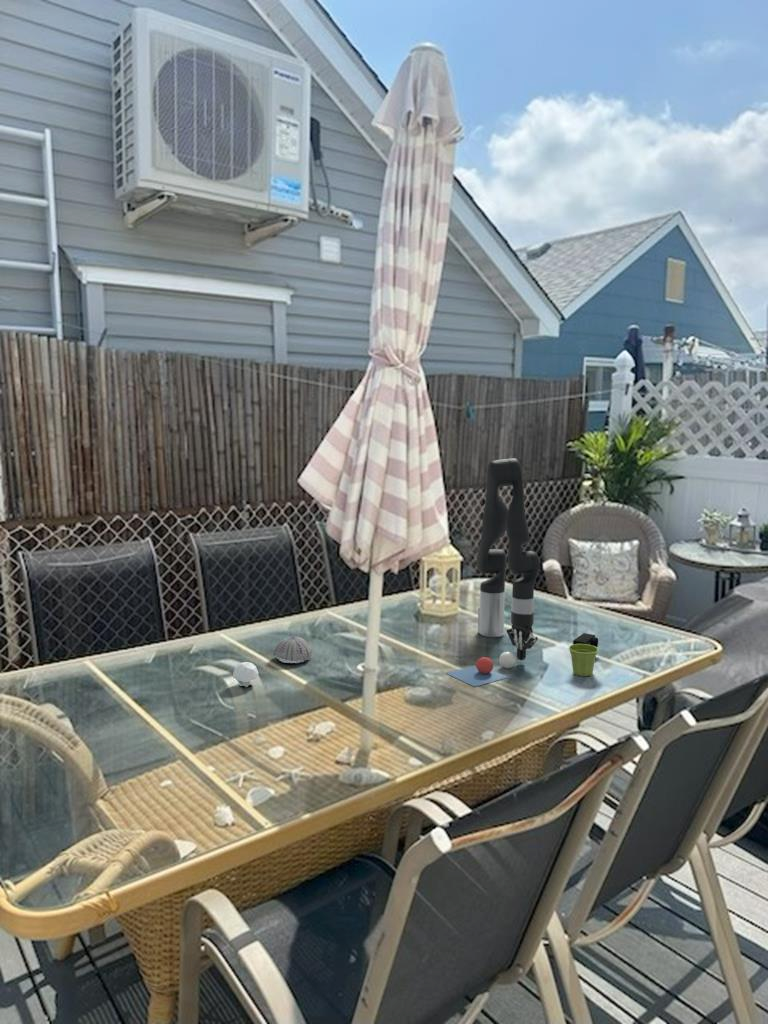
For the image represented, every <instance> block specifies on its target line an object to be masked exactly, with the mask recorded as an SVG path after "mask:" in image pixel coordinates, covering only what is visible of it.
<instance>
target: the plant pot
mask: <svg viewBox="0 0 768 1024" xmlns="http://www.w3.org/2000/svg"><path fill="white" fill-rule="evenodd" d="M568 650H569V652H570V655H571V656H570V658H571V664H572V673H573V674H575V675H576V674H577V675H581V676H580V677H582V676H585V677H587V676H588V677H590V676H589V675H591V676H592V675H593V673H594V667H595V663H596V662H595V660H596V657H597V653H598V652H599V648H598V647H595V646H592V645H587V644H573V643H572V644H571V645H569V646H568ZM577 675H576V676H577Z"/></svg>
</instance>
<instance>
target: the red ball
mask: <svg viewBox="0 0 768 1024" xmlns="http://www.w3.org/2000/svg"><path fill="white" fill-rule="evenodd" d="M475 666H476V667H477V670H478V671H479V672H480V673H482V674H488V673H490V672H491V671H493V669H494V663H493V660H491V659H490V658H489V657H487V656H482V657H479V659H478V660H477V662H476V664H475Z"/></svg>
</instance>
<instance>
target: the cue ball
mask: <svg viewBox="0 0 768 1024" xmlns="http://www.w3.org/2000/svg"><path fill="white" fill-rule="evenodd" d="M516 657H517V656H516V655H515V654H514V653H513V652H511V651H503V652H502V653H500V655H499V659H498V661H499V664H500V665H501V666H502V667H503V668H505V669H511V668H513V667H514V666H516V663H517V658H516Z"/></svg>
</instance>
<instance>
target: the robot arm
mask: <svg viewBox="0 0 768 1024" xmlns="http://www.w3.org/2000/svg"><path fill="white" fill-rule="evenodd" d="M487 465H488V466H487V471H486V490H485V491H486V492H485V503H484V508H483V516H482V525H481V537H480V542H479V547H478V550H477V554H476V555H477V556H476V569H477V571H478V572H479V573H481V574H495V575H494V576H492V577H491V578H489V579H487V580H484V581H482V582H481V583H480V588H479V589H480V591H479V592H480V595H479V596H480V597H479V608H478V609H477V612H478V613H477V632H478V633H479V635H481V636H482V637H485V638H486V637H487V638H500V637H503V636H504V632H505V592H506V591H505V589H506V588H505V586H506V572H507V571H506V569H507V566H508V568H509V570H510V572H512V573H513V574H515V575H519V574H522V575H521V577H519V578H517V579H515V580H514V581H513V583H512V592H511V593H512V594H511V595H512V597H511V606H510V608H511V609H510V623H511V627H510V628H508V629H506V634H507V635H508V638H509V640H510V642H511V643H512V646H513V647H515V648H516V657H517V658H516V660H519V661H525V660H526V658H527V650H528V649H529V650H530V649H531V648H532V647H533V646H534V645H535V644H536V642H537V641H538V639H539V638H538V636H535V635H534V634H533V625H534V621H535V620H534V619H535V617H534V616H535V600H534V594H535V593H534V590H535V589H534V588H535V584H536V581H537V577H538V574H539V571H540V565H541V562H540V557H539V555H538V554H537V553H536V552H535V551H532V550H528V551H527V550H526V551H522V547H523V546H524V545H527V544H528V543H530V541H531V540H530V534H529V528H528V523H527V522H528V521H527V518H526V517H527V516H526V510H525V508H526V507H525V494H524V493H525V492H524V482H523V481H524V480H523V479H524V478H523V472H522V466H521V463H520V461H519V460H518V459H517V458H514V457H512V458H504V459H502V458H501V459H496V460H491V461H490V462H489V463H488V464H487ZM508 486H511V487H512V498H511V502H510V505H509V508H508V506H507V505H506V503H505V502H504V501H503V499H502V498H501V496H500V495H499V489H500V487H508ZM505 533H506V534H507V539H508V552H507V554H506V551H505V550H504V549H502V548H501V549H500V548H497V549H496V548H492V547H493V545H494V544H495V543H496V542H497V541H499V540H500V539H501V538H502V536H503V535H504V534H505Z"/></svg>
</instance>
